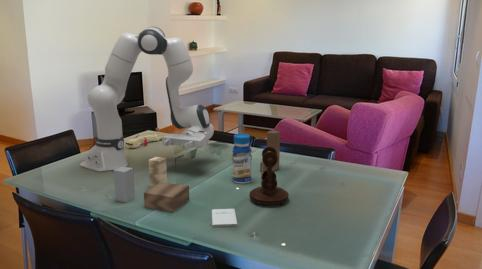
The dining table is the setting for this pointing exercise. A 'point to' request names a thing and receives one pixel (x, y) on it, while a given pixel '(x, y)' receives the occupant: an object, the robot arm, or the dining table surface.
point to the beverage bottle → (241, 159)
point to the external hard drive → (224, 218)
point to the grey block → (124, 184)
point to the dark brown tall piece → (269, 182)
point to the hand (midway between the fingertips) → (174, 145)
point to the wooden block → (274, 142)
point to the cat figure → (143, 140)
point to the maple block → (157, 171)
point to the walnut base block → (166, 196)
